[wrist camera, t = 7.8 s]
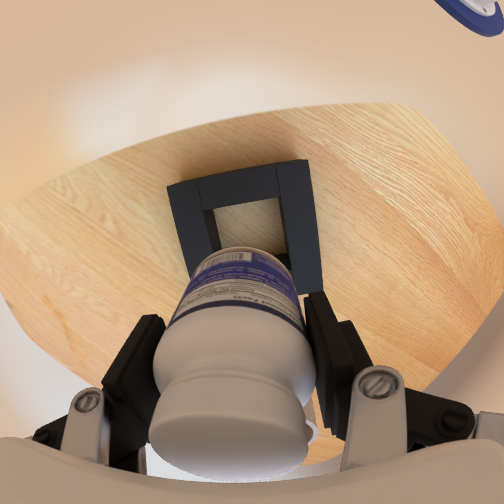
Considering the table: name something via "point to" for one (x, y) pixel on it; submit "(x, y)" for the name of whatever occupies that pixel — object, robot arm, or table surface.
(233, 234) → the table surface
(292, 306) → the pill bottle
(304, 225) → the socket pad
